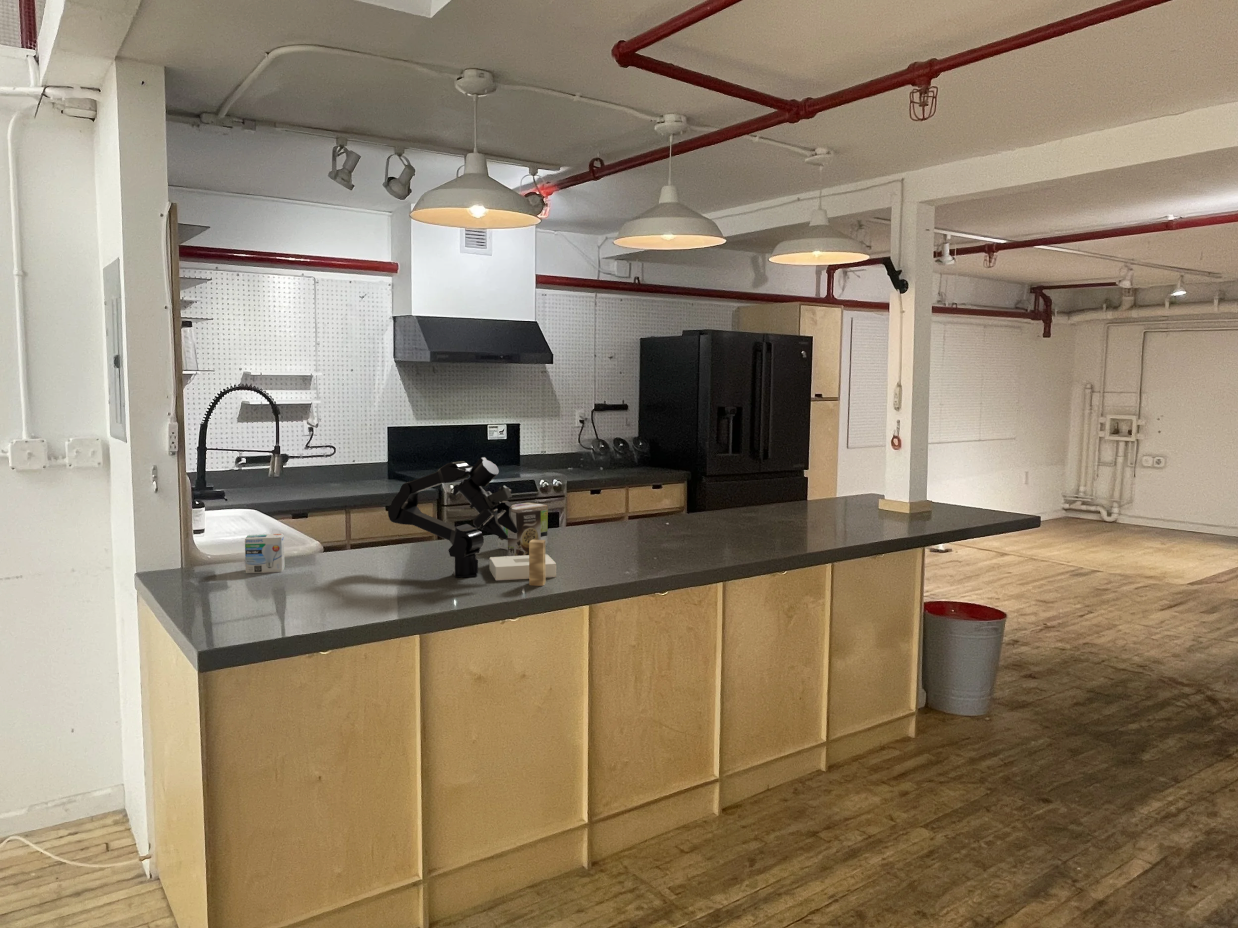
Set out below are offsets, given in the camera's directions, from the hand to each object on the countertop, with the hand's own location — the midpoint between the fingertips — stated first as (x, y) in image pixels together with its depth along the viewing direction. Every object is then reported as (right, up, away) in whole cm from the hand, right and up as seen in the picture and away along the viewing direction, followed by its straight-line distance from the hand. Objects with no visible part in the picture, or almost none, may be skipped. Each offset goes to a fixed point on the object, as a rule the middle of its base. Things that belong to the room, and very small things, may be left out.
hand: (511, 535), depth 261 cm
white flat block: (+2, -12, +8) cm, 14 cm away
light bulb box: (-76, -12, +9) cm, 78 cm away
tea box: (-2, -8, +48) cm, 49 cm away
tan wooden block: (+8, -14, -5) cm, 17 cm away
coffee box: (+1, -10, +28) cm, 30 cm away
